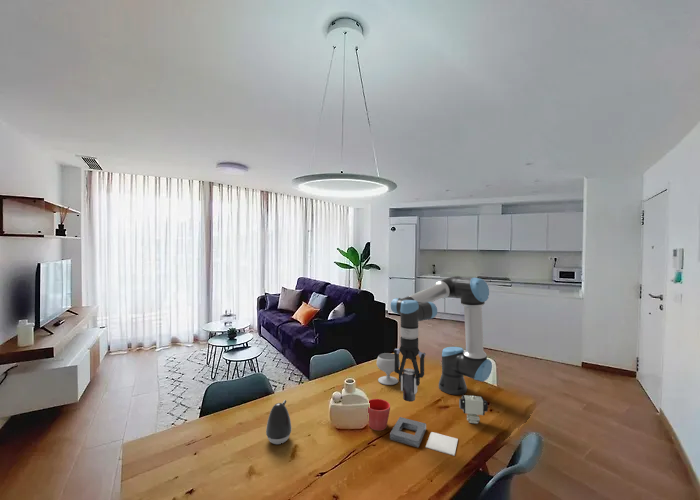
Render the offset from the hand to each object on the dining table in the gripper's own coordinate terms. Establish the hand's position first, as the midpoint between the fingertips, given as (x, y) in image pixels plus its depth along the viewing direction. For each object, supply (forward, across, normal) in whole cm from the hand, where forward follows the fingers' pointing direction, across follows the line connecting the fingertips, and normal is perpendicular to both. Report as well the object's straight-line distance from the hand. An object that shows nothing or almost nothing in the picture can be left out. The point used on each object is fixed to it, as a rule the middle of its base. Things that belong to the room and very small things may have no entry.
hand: (409, 390), depth 131 cm
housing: (+19, 0, 0) cm, 19 cm away
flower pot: (+19, -14, 0) cm, 24 cm away
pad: (+19, +14, 0) cm, 23 cm away
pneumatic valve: (+19, +24, +23) cm, 38 cm away
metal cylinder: (+3, 0, 0) cm, 3 cm away
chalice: (+19, -25, +46) cm, 56 cm away
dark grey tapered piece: (+19, -47, -28) cm, 58 cm away
